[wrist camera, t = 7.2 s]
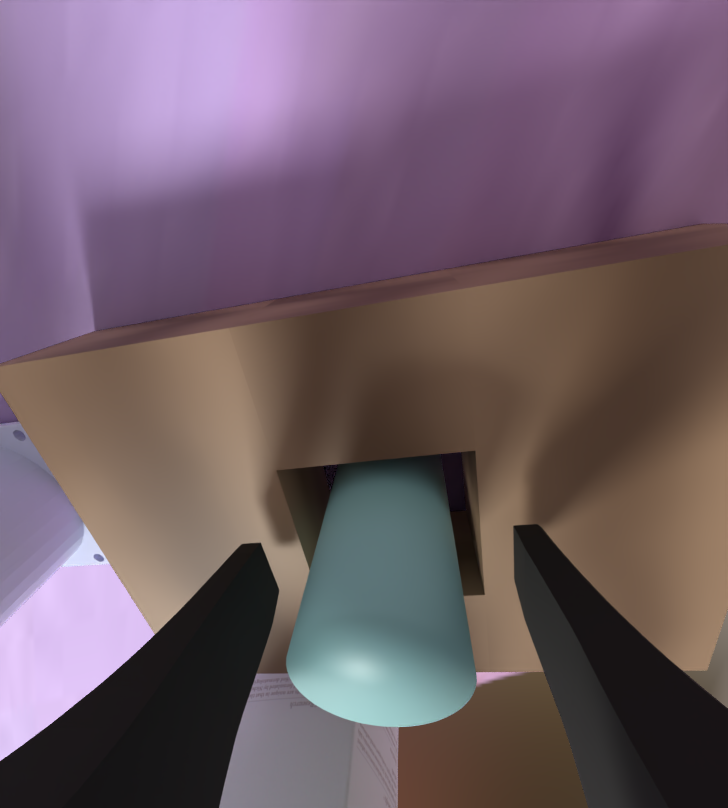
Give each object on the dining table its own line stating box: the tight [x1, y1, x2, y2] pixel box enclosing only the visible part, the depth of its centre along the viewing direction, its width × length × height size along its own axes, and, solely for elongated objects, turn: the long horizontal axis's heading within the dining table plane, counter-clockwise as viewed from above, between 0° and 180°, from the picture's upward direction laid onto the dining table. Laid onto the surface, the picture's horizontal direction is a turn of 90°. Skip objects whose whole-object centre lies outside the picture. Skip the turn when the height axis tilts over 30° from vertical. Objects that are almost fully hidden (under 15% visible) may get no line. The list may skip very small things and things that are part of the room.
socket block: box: [0, 224, 728, 674], centre depth 13 cm, size 20×14×4 cm
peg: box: [286, 454, 477, 727], centre depth 11 cm, size 4×4×8 cm
